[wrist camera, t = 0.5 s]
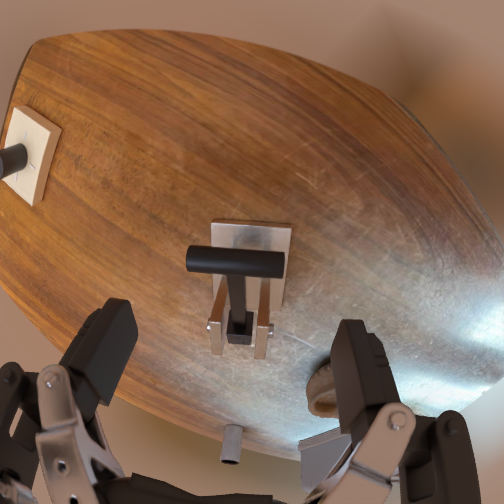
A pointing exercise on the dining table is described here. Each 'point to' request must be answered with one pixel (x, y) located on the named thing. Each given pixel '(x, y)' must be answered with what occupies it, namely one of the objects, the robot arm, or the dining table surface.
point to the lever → (236, 279)
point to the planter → (232, 445)
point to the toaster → (324, 457)
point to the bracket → (248, 278)
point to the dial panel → (32, 152)
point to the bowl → (322, 393)
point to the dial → (12, 160)
